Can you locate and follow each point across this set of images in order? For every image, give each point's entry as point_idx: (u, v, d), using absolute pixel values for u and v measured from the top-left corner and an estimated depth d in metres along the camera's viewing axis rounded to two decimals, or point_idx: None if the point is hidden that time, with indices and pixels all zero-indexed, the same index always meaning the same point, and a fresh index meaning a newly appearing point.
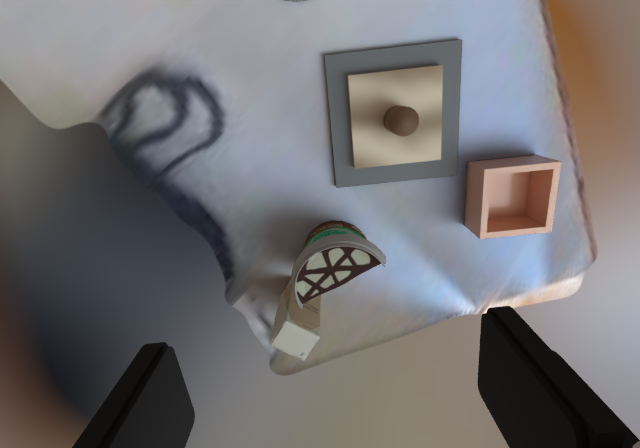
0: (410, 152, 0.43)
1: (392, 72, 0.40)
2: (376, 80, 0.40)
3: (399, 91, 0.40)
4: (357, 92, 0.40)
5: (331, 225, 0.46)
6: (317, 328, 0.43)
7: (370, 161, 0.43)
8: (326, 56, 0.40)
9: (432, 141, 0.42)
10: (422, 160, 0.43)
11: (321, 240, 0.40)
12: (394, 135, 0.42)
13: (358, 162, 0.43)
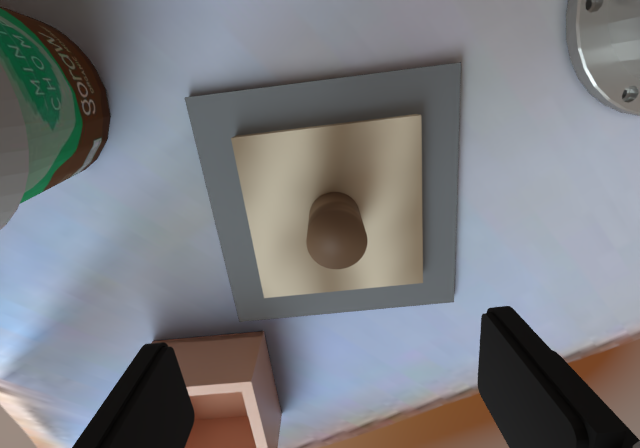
0: (273, 245, 0.22)
1: (418, 201, 0.21)
2: (407, 173, 0.20)
3: (384, 217, 0.21)
4: (387, 136, 0.20)
5: (83, 86, 0.18)
6: None
7: (249, 171, 0.21)
8: (458, 66, 0.19)
9: (295, 281, 0.23)
10: (260, 268, 0.23)
11: None
12: (304, 214, 0.22)
13: (245, 145, 0.20)
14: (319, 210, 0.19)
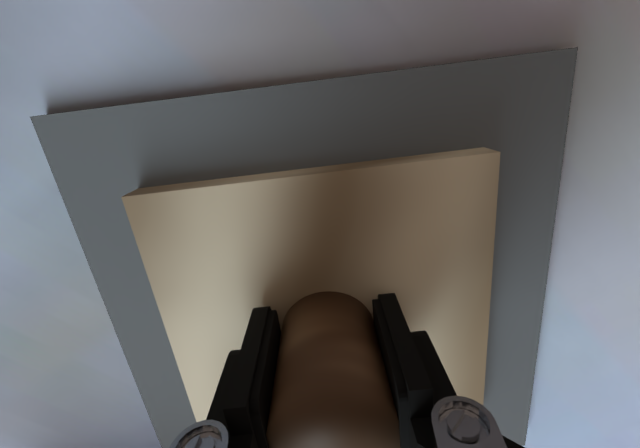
0: (218, 379, 0.12)
1: (483, 306, 0.11)
2: (465, 258, 0.11)
3: None
4: (431, 192, 0.10)
5: None
6: None
7: (164, 257, 0.11)
8: (571, 56, 0.10)
9: None
10: (197, 414, 0.13)
11: None
12: None
13: (151, 211, 0.10)
14: (296, 356, 0.09)
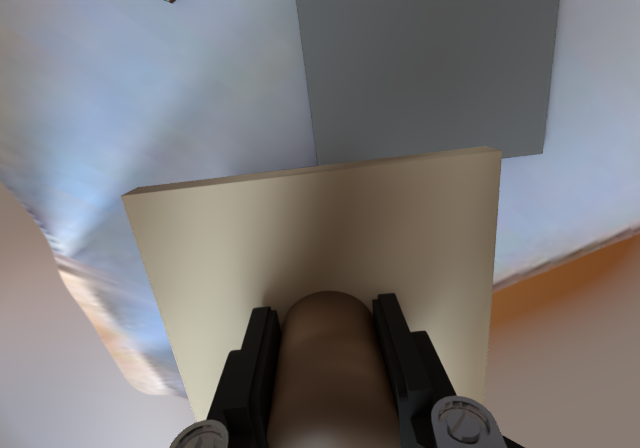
0: (218, 379, 0.12)
1: (484, 305, 0.11)
2: (467, 257, 0.11)
3: None
4: (432, 191, 0.10)
5: None
6: None
7: (164, 256, 0.11)
8: None
9: None
10: (197, 414, 0.13)
11: None
12: None
13: (151, 210, 0.10)
14: (297, 356, 0.09)
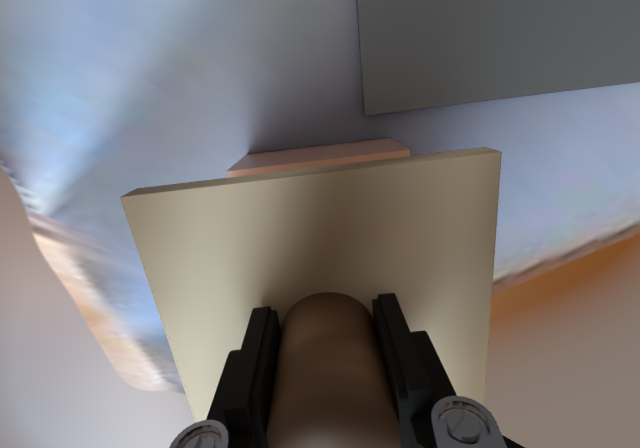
0: (217, 380, 0.12)
1: (484, 307, 0.11)
2: (466, 258, 0.11)
3: None
4: (432, 192, 0.10)
5: None
6: None
7: (163, 258, 0.11)
8: None
9: None
10: (196, 415, 0.13)
11: None
12: None
13: (150, 211, 0.10)
14: (296, 358, 0.09)
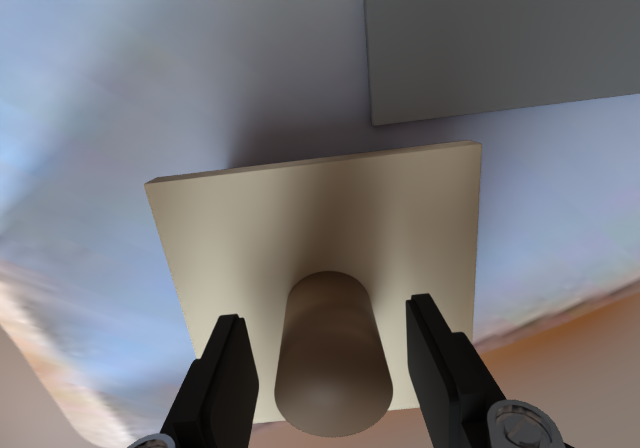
0: None
1: (469, 284, 0.13)
2: (452, 240, 0.12)
3: None
4: (420, 180, 0.11)
5: None
6: None
7: (181, 239, 0.12)
8: None
9: (266, 403, 0.15)
10: None
11: None
12: (278, 306, 0.13)
13: (170, 197, 0.11)
14: (300, 323, 0.10)
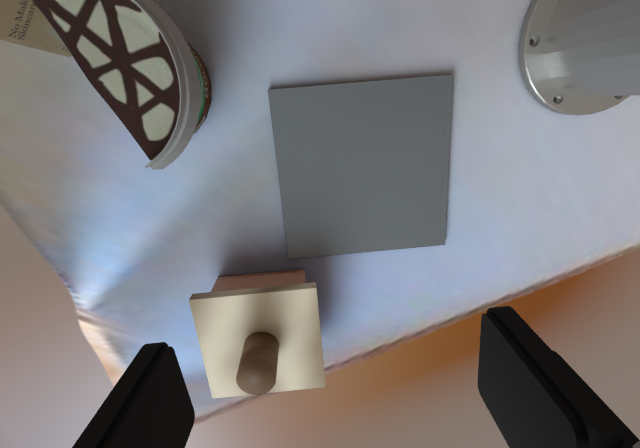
0: (218, 364, 0.32)
1: (318, 337, 0.31)
2: (309, 320, 0.31)
3: (296, 346, 0.31)
4: (295, 299, 0.30)
5: (205, 78, 0.27)
6: None
7: (202, 319, 0.30)
8: (451, 77, 0.29)
9: (235, 387, 0.33)
10: (209, 379, 0.32)
11: (184, 44, 0.21)
12: (240, 345, 0.31)
13: (199, 304, 0.29)
14: (246, 354, 0.28)
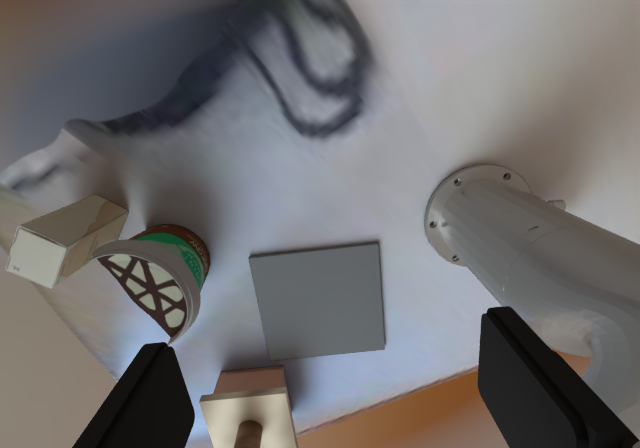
0: (221, 440, 0.45)
1: (290, 423, 0.44)
2: (282, 413, 0.44)
3: (274, 429, 0.45)
4: (271, 400, 0.43)
5: (204, 259, 0.40)
6: (63, 278, 0.33)
7: (208, 413, 0.44)
8: (377, 245, 0.42)
9: None
10: None
11: (189, 274, 0.34)
12: (235, 428, 0.45)
13: (206, 404, 0.43)
14: (238, 441, 0.42)
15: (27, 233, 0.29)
